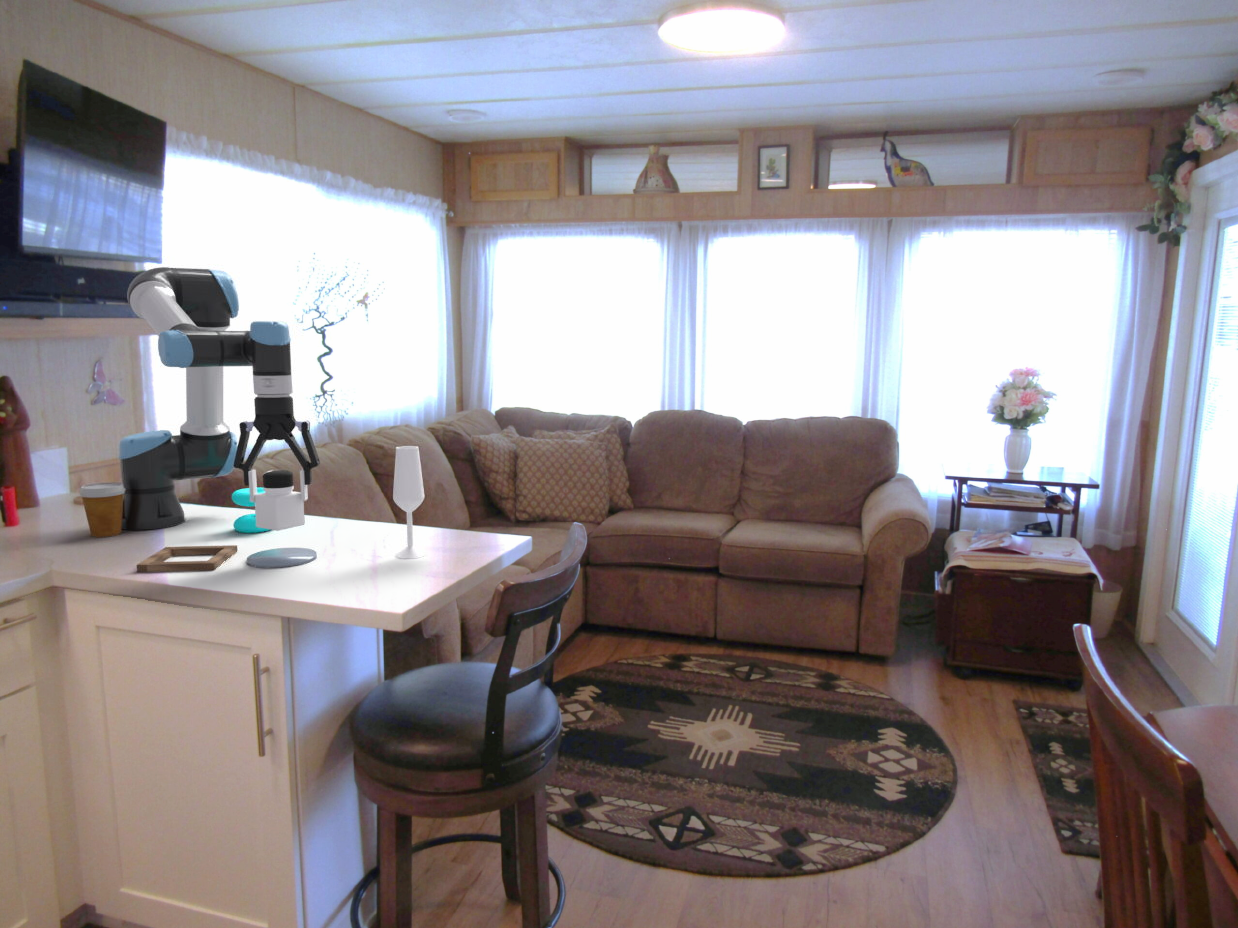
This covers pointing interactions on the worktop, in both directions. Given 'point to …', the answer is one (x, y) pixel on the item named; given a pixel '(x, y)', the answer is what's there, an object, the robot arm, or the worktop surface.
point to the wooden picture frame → (158, 565)
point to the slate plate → (281, 557)
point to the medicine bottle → (279, 502)
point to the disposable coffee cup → (103, 508)
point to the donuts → (247, 521)
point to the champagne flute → (408, 492)
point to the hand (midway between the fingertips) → (279, 500)
